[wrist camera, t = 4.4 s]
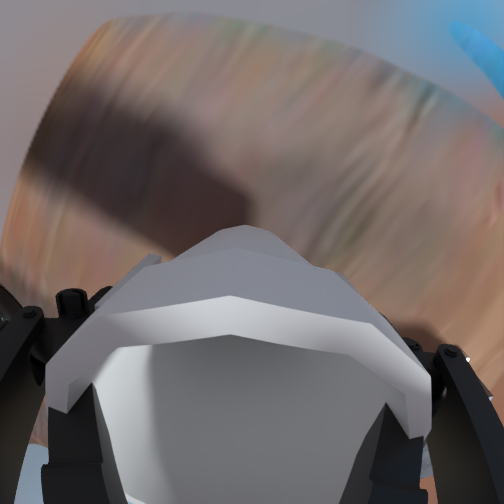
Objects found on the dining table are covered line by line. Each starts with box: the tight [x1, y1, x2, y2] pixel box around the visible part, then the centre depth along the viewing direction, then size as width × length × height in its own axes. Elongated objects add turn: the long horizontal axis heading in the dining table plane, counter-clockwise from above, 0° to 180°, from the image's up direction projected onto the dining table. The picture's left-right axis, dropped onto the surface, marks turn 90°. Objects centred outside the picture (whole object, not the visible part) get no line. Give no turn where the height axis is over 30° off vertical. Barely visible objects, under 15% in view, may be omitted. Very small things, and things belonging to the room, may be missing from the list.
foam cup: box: [45, 225, 432, 504], centre depth 11 cm, size 10×9×13 cm
